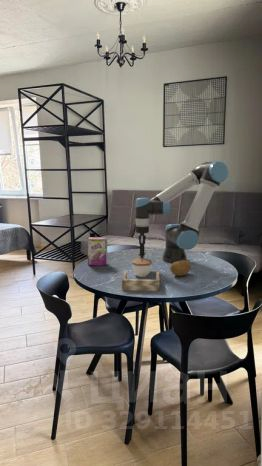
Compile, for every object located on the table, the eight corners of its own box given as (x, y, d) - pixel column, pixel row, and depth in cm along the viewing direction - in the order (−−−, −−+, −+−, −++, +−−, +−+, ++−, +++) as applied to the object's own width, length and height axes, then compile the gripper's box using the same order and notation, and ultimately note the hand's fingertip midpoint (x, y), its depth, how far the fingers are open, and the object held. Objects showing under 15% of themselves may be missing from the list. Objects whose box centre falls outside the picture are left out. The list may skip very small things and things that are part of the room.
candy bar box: (87, 265, 191) (87, 238, 188) (89, 263, 195) (89, 237, 193) (106, 266, 189) (105, 239, 187) (107, 263, 194) (107, 237, 191)
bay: (158, 280, 163) (158, 271, 162) (159, 290, 148) (159, 280, 148) (124, 280, 164) (124, 270, 163) (122, 290, 149) (122, 280, 148)
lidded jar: (153, 277, 167) (153, 260, 166) (132, 278, 167) (132, 261, 165) (150, 271, 178) (150, 255, 176) (131, 272, 177) (131, 255, 175)
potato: (195, 273, 174) (195, 259, 173) (181, 280, 164) (181, 265, 162) (180, 270, 180) (180, 256, 179) (165, 276, 170) (166, 261, 169)
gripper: (136, 223, 185) (136, 263, 189) (135, 227, 172) (134, 269, 177) (149, 223, 185) (148, 263, 189) (148, 227, 172) (148, 269, 176)
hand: (142, 266), depth 183 cm, fingers closed
